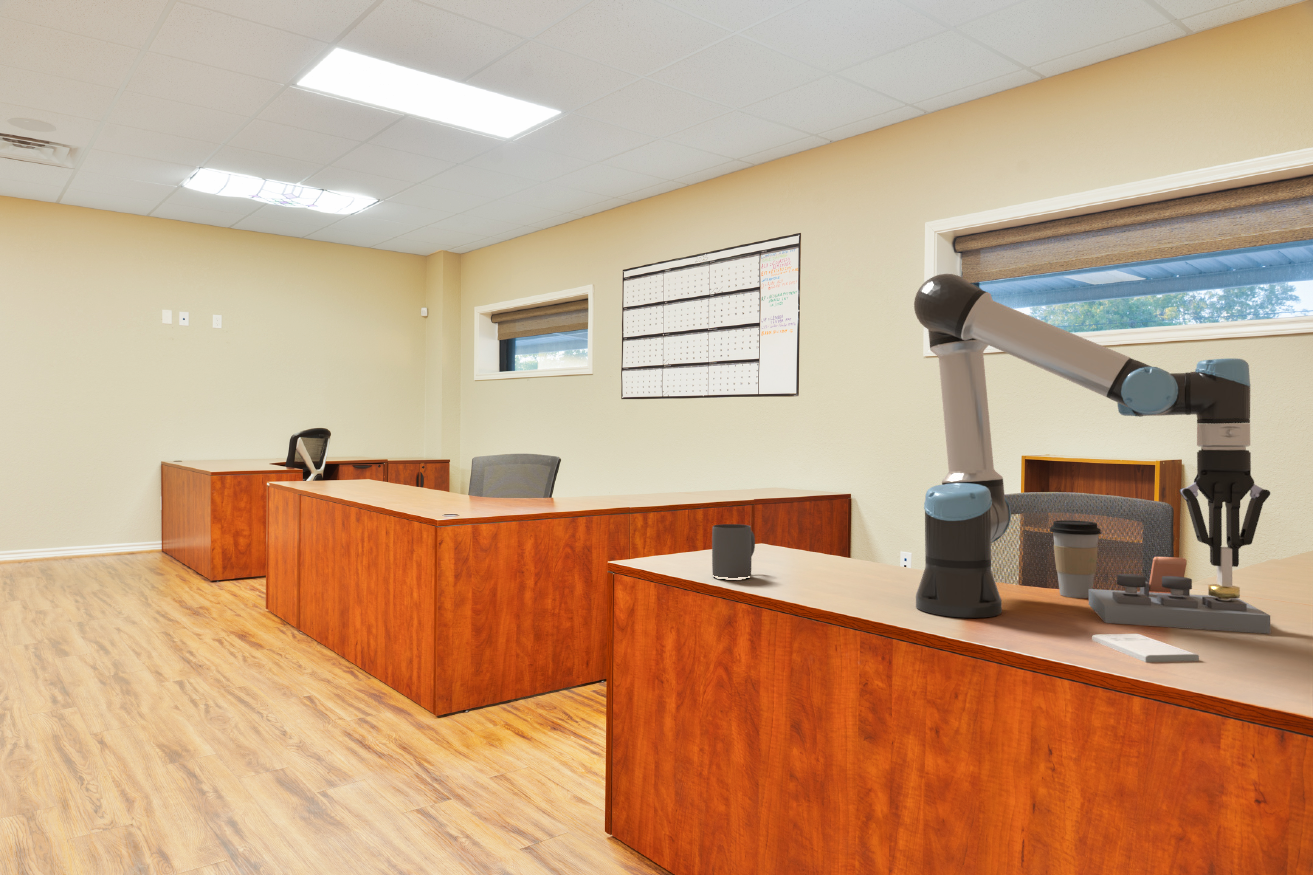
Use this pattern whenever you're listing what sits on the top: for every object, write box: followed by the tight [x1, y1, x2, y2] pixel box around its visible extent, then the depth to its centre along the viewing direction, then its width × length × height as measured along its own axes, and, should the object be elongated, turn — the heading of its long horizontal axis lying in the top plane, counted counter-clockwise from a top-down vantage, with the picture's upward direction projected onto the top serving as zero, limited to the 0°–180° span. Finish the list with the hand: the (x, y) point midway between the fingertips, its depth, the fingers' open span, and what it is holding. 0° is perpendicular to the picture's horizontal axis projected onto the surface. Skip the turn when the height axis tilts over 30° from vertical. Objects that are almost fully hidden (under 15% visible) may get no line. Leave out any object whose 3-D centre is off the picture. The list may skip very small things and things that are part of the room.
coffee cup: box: [1049, 519, 1102, 599], centre depth 162 cm, size 9×9×15 cm
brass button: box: [1207, 583, 1241, 602], centre depth 136 cm, size 4×4×3 cm
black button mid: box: [1162, 576, 1193, 596], centre depth 138 cm, size 4×4×3 cm
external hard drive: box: [1091, 633, 1200, 663], centre depth 120 cm, size 2×8×12 cm
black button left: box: [1116, 573, 1147, 593], centre depth 141 cm, size 4×4×3 cm
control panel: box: [1088, 581, 1271, 635], centre depth 141 cm, size 24×16×5 cm, turn 70°
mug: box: [711, 523, 756, 578], centre depth 185 cm, size 14×9×12 cm
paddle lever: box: [1148, 556, 1187, 593], centre depth 144 cm, size 5×1×8 cm, turn 70°
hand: (1224, 585), depth 136 cm, fingers closed
